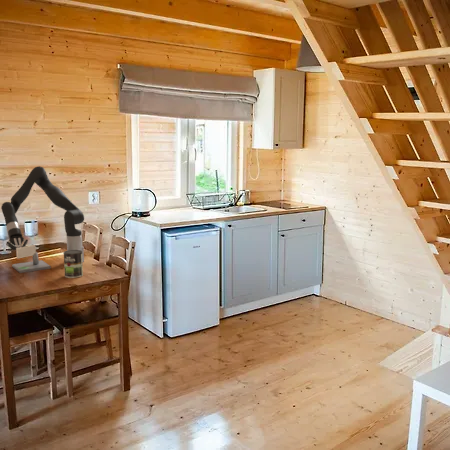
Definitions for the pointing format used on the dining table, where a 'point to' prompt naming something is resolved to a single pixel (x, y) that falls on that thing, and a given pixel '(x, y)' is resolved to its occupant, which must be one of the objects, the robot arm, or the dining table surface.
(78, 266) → the coffee can
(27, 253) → the lever handle
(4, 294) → the dining table surface
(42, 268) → the board
